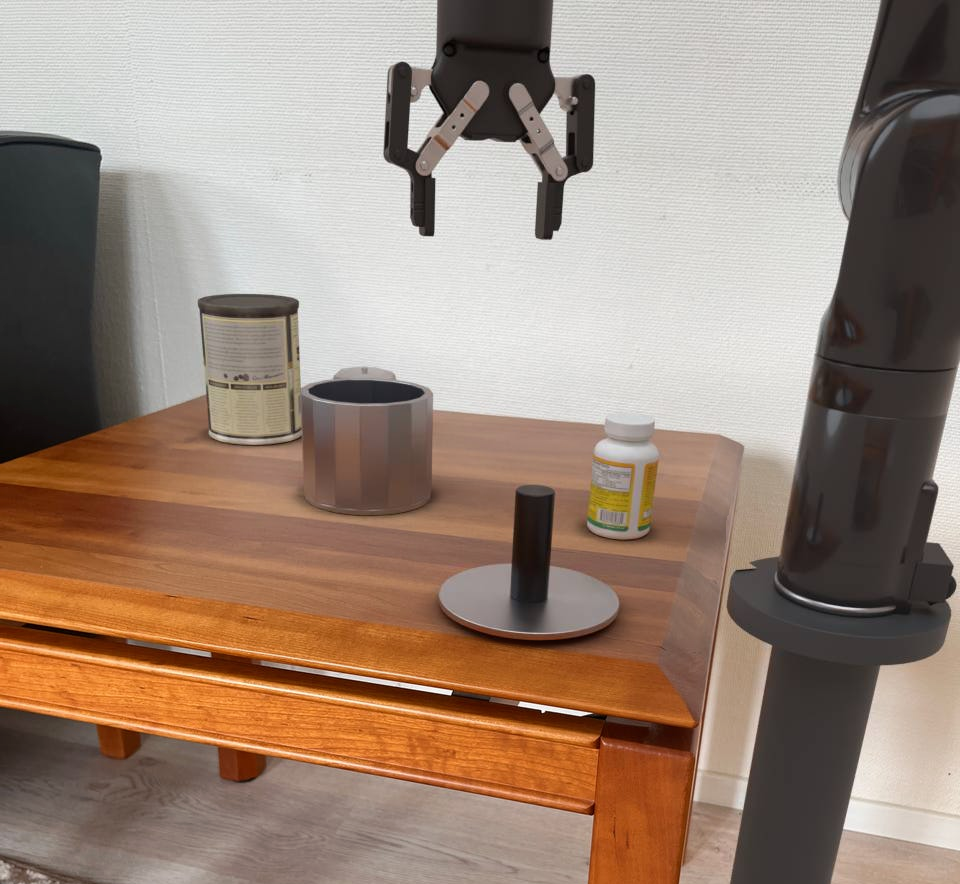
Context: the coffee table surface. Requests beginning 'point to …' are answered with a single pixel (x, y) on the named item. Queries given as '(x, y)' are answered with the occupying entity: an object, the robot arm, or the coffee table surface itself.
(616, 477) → the supplement bottle
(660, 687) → the coffee table surface
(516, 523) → the canister lid
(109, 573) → the coffee table surface
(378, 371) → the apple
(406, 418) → the canister
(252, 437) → the coffee can
